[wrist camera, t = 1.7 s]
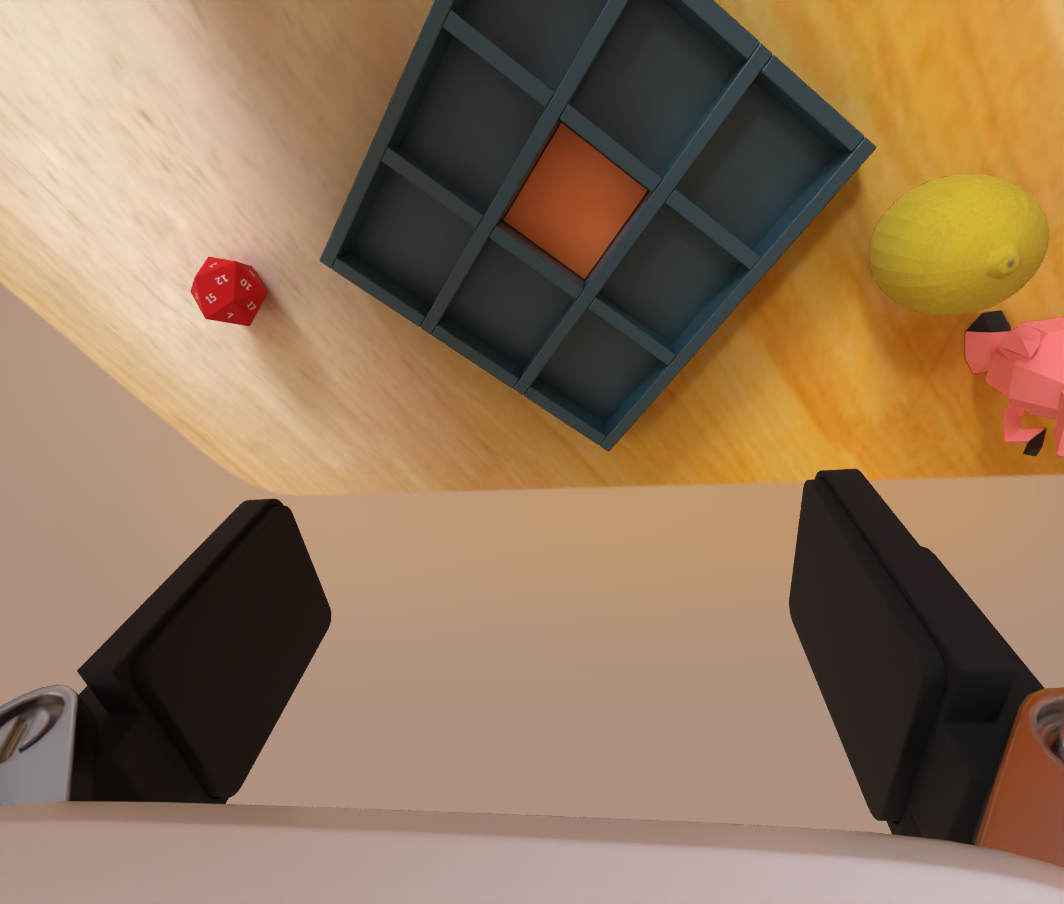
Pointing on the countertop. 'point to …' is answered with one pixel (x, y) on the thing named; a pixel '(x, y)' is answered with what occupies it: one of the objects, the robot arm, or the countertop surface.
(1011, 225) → the lemon
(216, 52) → the countertop surface
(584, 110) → the grid
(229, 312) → the die
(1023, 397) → the cat figurine
